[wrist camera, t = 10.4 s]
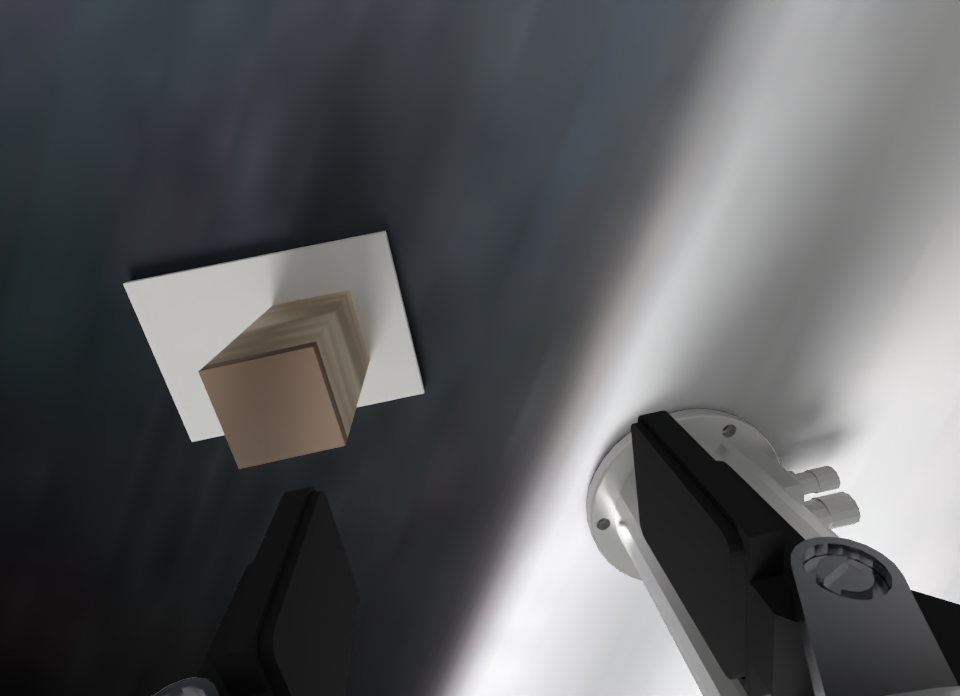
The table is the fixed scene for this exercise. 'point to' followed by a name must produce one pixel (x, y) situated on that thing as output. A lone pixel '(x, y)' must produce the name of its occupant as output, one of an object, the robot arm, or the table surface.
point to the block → (290, 380)
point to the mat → (251, 292)
